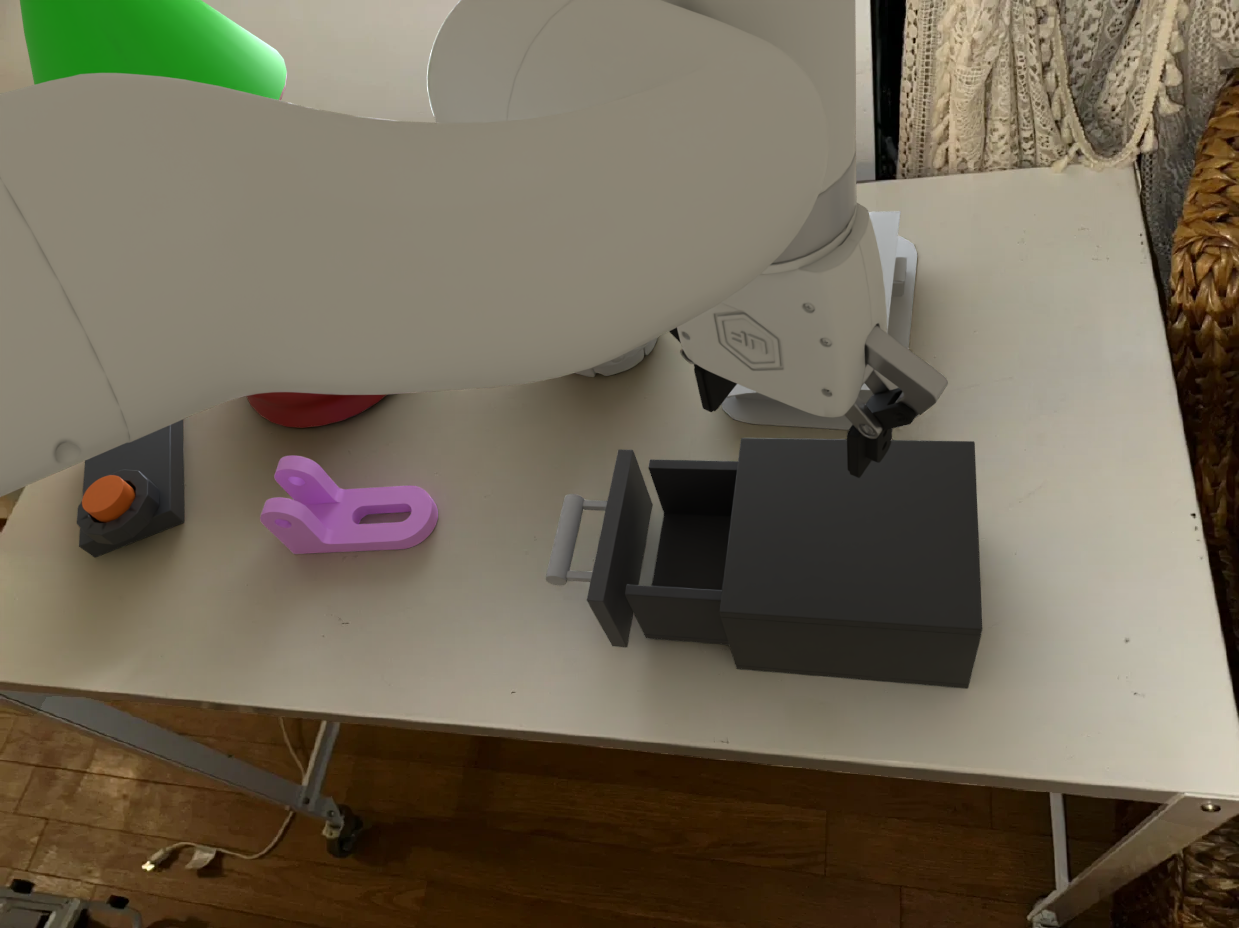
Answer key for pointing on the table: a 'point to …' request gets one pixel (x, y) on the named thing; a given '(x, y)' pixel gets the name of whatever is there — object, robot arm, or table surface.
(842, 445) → the dark grey drawer cabinet
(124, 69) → the table lamp
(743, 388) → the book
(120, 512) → the button
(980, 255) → the table surface
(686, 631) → the dark grey drawer
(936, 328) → the table surface
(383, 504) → the bracket
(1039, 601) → the table surface
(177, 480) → the control block
